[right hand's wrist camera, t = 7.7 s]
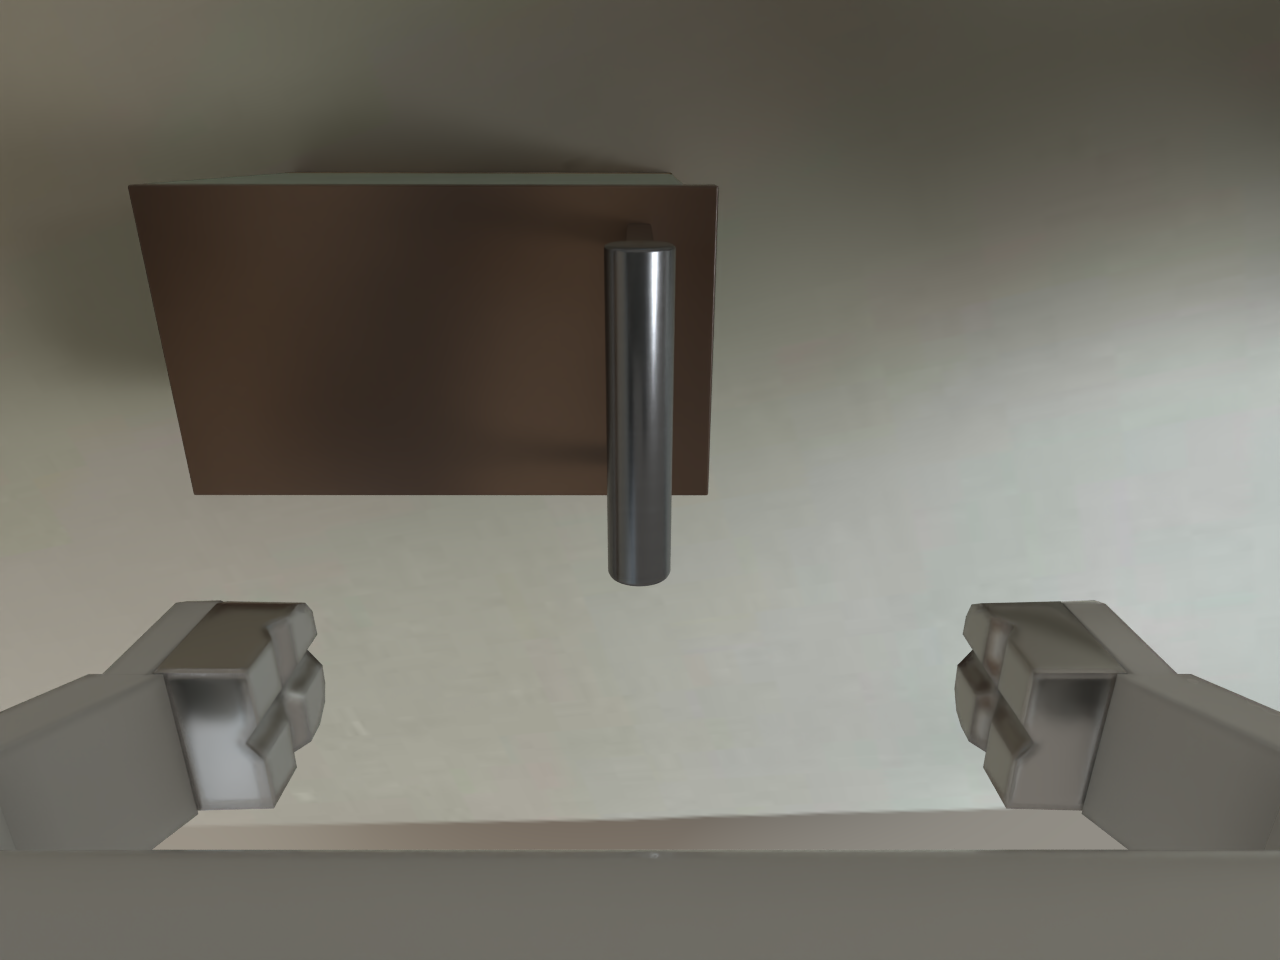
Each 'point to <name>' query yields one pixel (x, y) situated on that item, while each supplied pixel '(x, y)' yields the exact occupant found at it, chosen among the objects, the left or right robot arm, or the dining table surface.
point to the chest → (441, 178)
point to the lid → (443, 342)
